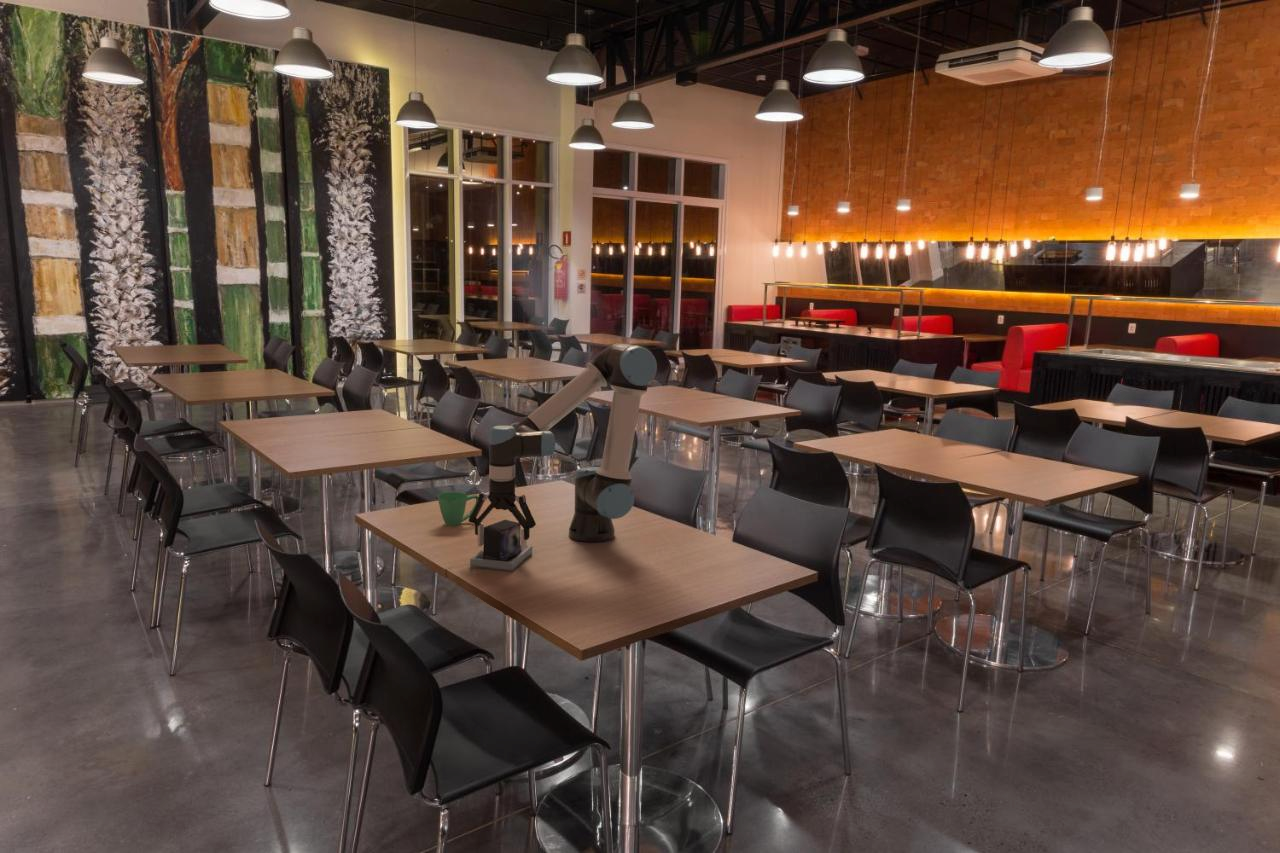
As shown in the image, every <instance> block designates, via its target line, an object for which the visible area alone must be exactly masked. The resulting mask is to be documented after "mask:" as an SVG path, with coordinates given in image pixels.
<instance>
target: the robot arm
mask: <svg viewBox="0 0 1280 853" xmlns="http://www.w3.org/2000/svg"><path fill="white" fill-rule="evenodd" d="M657 370H658V364H657V360H656V357H655V355H654V354H653V353H652V351H650V350H649V349H648V348H646V347H643V346H641V345H638V344H637V345H636V344H631V343H630V344H629V343H625V342H617V343H613V344H611V345H609V346H608V347H606V348H605V349H604V350H602V351H600V352H599V353H598V354H597V355H595V356H594V357H593V358H592V359H591V360H589V361H588V362H587V363H586V368H585V369H584V370H582V371H581V372H580V373H578V374H577V375H576V376H575V377H574V378H573V379H571V380H570V381H569V382H567V383H566V384H565V385H564V386H563V387H561V388H560V389H559V390H558V391H557V392H555V393H554V394H553V395H552V396H550V397H549V398H548V399H547V400H546V401H545V402H543V403H542V404H541V405H540V406H538V407H537V408H536V409H534V411H533V412H531V413H530V414H529V415H527V416H526V417H525V418H523V419H522V420H521V421H520V422H513V423H512V424H510V425H495V426H494V425H493V426H492V427H491V428H490V430H489V439H488V450H489V452H488V453H489V466H488V467H489V470H488V471H489V474H488V475H489V478H490V479H489V480H488V481H489V482H488V483H489V484H488V485H489V488H488V489H489V490H488V491H489V493H487V492H486V491H482V492H480V493H479V494H478V497H479V500H478V502H477V504H476V503H475V504H476V506H475V505H474V506H475V508H474V510H473V512H472V514H471V516H470V518H468V522H469V523H472V524H473V525H474V534H475V536H477V547H478V548H481V547H482V546H484V527H485V524H484V523H483V521H484V520H485V518H486V517H487V516H488V515H489V514H490V513H491V512H492V511H493V509H495V510H502V511H507V510H508V511H509V513H511V514H512V515H513V517H514V518H515V519H516V520H517V521H518V522H517V521H516V522H517V523H520V524H521V527H522V528H521V530H520V545H521V551H524V550H525V549H526V545H527V541H528V540H529V539H530V533H531V532H530V531H531V530H530V529H533V528H534V527H535V526H537V525H536V524H537V523H536V521H535V519H534V517H533V515H532V512H531V510H530V507H529V505H528V503H527V499H526V498H527V497H526V495H525V494H522V495H520V496H519V495H518V496H516V495H517V494H516V479H515V477H516V459H520V458H536V457H538V458H539V457H540V458H541V457H542V458H543V457H549V456H552V455H553V454H554V453H555V451H556V439H555V435H554V432H552V431H550V429H552V427H553V426H556V424H558V423H559V422H560V421H561V420H562V419H563V418H565V417H567V415H569V414H570V413H571V412H572V411H573V410H575V409H576V408H577V407H578V406H579V405H580V404H582V403H583V402H584V401H585V400H587V399H588V398H589V397H590V396H592V395H593V394H594V393H595V392H597V390H599V389H600V388H601V387H603V388H606V387H608V386H610V387H611V389H612V391H613V395H612V402H611V405H610V412H609V419H608V424H607V431H606V435H605V436H606V437H605V443H604V449H603V454H602V460H601V465H600V466H589V467H581V468H578V469H577V470H576V471H575V473H574V474H575V476H574V513H573V517H572V520H571V522H570V525H569V527H568V528H569V529H568V536H569V538H570V539H572V540H575V541H578V542H583V543H600V542H601V543H602V542H606V541H609V540H612V539H614V538H615V534H616V533H615V532H616V531H615V526H614V523H613V520H614V519H620V518H623V517H624V516H626V515H627V514H628V513H629V512H630V511H631V510H632V508H633V506H634V503H635V495H634V492H633V490H632V487H631V485H632V481H633V480H632V479H633V477H632V474H631V473H630V471H629V468H630V462H631V457H632V451H633V450H632V449H633V445H634V439H635V434H636V427H637V421H638V415H639V410H640V409H639V408H640V404H641V397H642V396H643V395H644V394H646V393H647V392H648V388H649V387H648V386H649V384H650V383H651V381H653V380H654V378H655V377H656V374H657ZM487 500H489V502H490V504H489V505H488V506H487V507H486V508H485V510H484V511H483V512H482V513H481V514H480V515H479V513H480V512H481V509H482V507H483V505H484V504H485V501H487ZM515 502H516V503H517V504H519V507H520V509H518V506H517V505H516V503H515ZM520 510H521V511H522V513H521V511H520ZM478 515H479V517H478Z"/></svg>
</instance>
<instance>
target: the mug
mask: <svg viewBox="0 0 1280 853" xmlns="http://www.w3.org/2000/svg"><path fill="white" fill-rule="evenodd" d="M473 499H474V500H475V503H474V506H473V507H472V509H471V510H470V511H469V512H468V513H467V514H465V511H466V506H467V502H468V501H471V500H473ZM478 500H479V495H477V494H470V495H468V494H466V493H464V492H457V491H455V492H444V493H440V494H438V496H437V501H438V505H439V510H440V514H441V516H442V519H443V521H444V524H445V526H447V527H458V526H459V525H461V524H462V523H463V522H464V521H466V520H467V519H468V520H469V518H470V516H471V514H472V512H473V510H474V508H475V506H476V504H477V502H478Z"/></svg>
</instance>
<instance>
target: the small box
mask: <svg viewBox="0 0 1280 853" xmlns="http://www.w3.org/2000/svg"><path fill="white" fill-rule="evenodd" d="M521 527H522V526H521V524H520V523H519V522H517V521H512V520H509V519H503V520H500V521H497V522H495V523H491V524H489V525H486V526H484V544H483V548H482V550H483V559H487V560H497V561H508V560H511V559H513V558H515V557H517V556H518V555H519V554H520V545H521V529H522V528H521Z"/></svg>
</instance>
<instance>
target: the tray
mask: <svg viewBox="0 0 1280 853" xmlns="http://www.w3.org/2000/svg"><path fill="white" fill-rule="evenodd" d="M531 555H533V545H527V544H526V549H525V550H524V551H521V544H520V554H519V555H518V556H517V557H515V558H513V559H511V560H508V561H497V560H487V559H483V549H482V550H480V551H479V552H477V553H476V554H475V555H474V556H472V557H471V558H470V560H469V565H470V566H469V567H470V568H474V569H483V570H484V569H485V570H493V571H494V570H495V571H503V572H504V571H505V572H511V573H512V572H514V571H515V570H516V569H517V568H518V567H519V566H520V565H522V564H523V563H524V562H525V561H527V559H528V558H529V557H530V556H531Z"/></svg>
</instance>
